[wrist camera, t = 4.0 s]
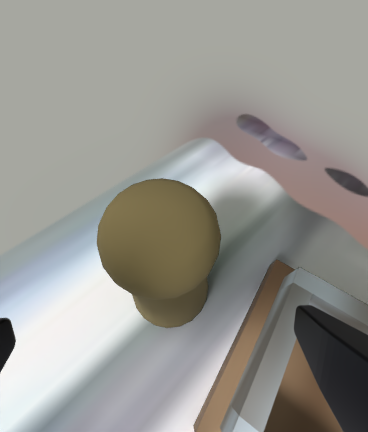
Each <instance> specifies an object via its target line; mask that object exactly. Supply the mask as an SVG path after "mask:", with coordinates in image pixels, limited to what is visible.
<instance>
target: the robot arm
mask: <svg viewBox="0 0 368 432" xmlns="http://www.w3.org/2000/svg"><path fill="white" fill-rule="evenodd" d="M294 333H295V335H296V338H297V340H298V342H299V345H300V347H301V349H302V351H303V353H304V356H305V358H306V360H307V362H308V365H309V367H310V369H311V371H312V374H313V376H314V378H315V380H316V382H317V384H318V387H319V389H320V390H321V392H322V394H323V396H324V398H325V400H326V402H327V403H328V405H329V407H330V409H331V411H332V412H333V414H334V416H335V418H336V420H337V421H338V423H339V425H340V427H341V429H342V430H343V432H368V335H367V334H365V333H363V332H362V331H360V330H358V329H356V328H354V327H352V326H350V325H348V324H346V323H344V322H343V321H341V320H339V319H337V318H335V317H333V316H331V315H329V314H327V313H325V312H324V311H322V310H320V309H318V308H316V307H314V306H312V305H299V306H297V308H296V312H295V320H294ZM15 342H16V339H15V335H14V331H13V327H12V324H11V321H10V320H9V319H8V318H0V372H1V370H2V369H3V367H4V365H5V363H6V361H7V360H8V358H9V356H10V354H11V352H12V351H13V349H14V346H15Z"/></svg>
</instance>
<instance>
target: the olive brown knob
mask: <svg viewBox="0 0 368 432" xmlns="http://www.w3.org/2000/svg"><path fill="white" fill-rule="evenodd" d="M220 240H221V234H220V229H219V225H218V220H217V216H216V213H215V211H214V210H213V208H212V207H211V205H210V203H209V202H208V200H207V199H206V198H204V197H203V196H202V195H201V194H200V193H198V192H197V191H196V190H195V189H194V188H192V187H190V186H188V185H186V184H184V183H181V182H179V181H175V180H169V179H151V180H145V181H142V182H139V183H136V184H133V185H131V186H130V187H128V188H127V189H125V190H124V191H122V192H120V193H119V194H118V195H117V196H116V197H115V198H114V199H113V201H112V202H111V203H110V204H109V205H108V207H107V208H106V210H105V212H104V214H103V216H102V219H101V221H100V223H99V225H98V235H97V247H98V251H99V255H100V258H101V262H102V265H103V268H104V269H105V270H106V272H107V273H108V274H109V276H110V277H111V278H112V280H113V281H114V282H115V283H116V284H117V285H118V286H120V287H122V288H123V289H125V290H126V291H128V292H129V293H131V294H132V295H133V299H134V302H135V305H136V308H137V309H138V311H139V312H140V313H141V315H142V316H143V317H144V318H145V319H146V320H148V321H149V322H151V323H152V324H154V325H156V326H161V327H165V328H171V327H179V326H182V325H184V324H186V323H188V322H190V321H192V320H193V319H194V318H195V317H196V316H197V315H198V314H199V313H200V312H201V310H202V308H203V306H204V304H205V302H206V299H207V292H208V282H207V276H208V275H209V273H210V271H211V269H212V267H213V265H214V263H215V261H216V259H217V257H218V255H219V248H220Z"/></svg>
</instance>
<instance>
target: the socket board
mask: <svg viewBox="0 0 368 432" xmlns="http://www.w3.org/2000/svg"><path fill="white" fill-rule="evenodd" d="M299 305H312V306H314V307H316V308H318V309H320V310H322V311H324V312H325V313H327V314H329V315H331V316H333V317H335V318H337V319H339V320H341V321H343V322H344V323H346V324H348V325H350V326H352V327H354V328H356V329H358V330H360V331H362V332H363V333H365V334H367V335H368V305H367V304H365V303H363V302H362V301H360V300H358V299H356V298H354V297H353V296H351V295H349V294H347V293H345V292H344V291H342V290H340V289H338V288H337V287H335V286H333V285H331V284H329V283H328V282H326V281H324V280H322V279H320V278H319V277H317V276H315V275H313V274H311V273H310V272H308V271H306V270H304V269H302V268H301V267H299V268H297V269H296V270H295V269H293V268H291V267H289V266H287V265H286V264H284V263H282V262H280V261H279V260H276V261H274V262H273V263H272V264H271V265H270V267H269V269H268V271H267V273H266V275H265V277H264V279H263V281H262V283H261V286H260V288H259V290H258V292H257V294H256V296H255V298H254V300H253V302H252V304H251V306H250V309H249V311H248V313H247V315H246V317H245V319H244V321H243V323H242V325H241V327H240V329H239V332H238V334H237V336H236V338H235V340H234V342H233V344H232V346H231V348H230V350H229V353H228V355H227V357H226V359H225V361H224V363H223V365H222V367H221V369H220V371H219V373H218V376H217V378H216V380H215V382H214V384H213V386H212V388H211V390H210V392H209V394H208V396H207V399H206V401H205V403H204V405H203V407H202V409H201V411H200V413H199V415H198V417H197V419H196V422H195V424H194V432H343V430H342V429H341V427H340V425H339V423H338V421H337V420H336V418H335V416H334V414H333V412H332V411H331V409H330V407H329V405H328V403H327V402H326V400H325V398H324V396H323V394H322V392H321V390H320V389H319V387H318V384H317V382H316V380H315V378H314V376H313V374H312V371H311V369H310V367H309V365H308V362H307V360H306V358H305V356H304V353H303V351H302V349H301V347H300V345H299V342H298V340H297V338H296V335H295V333H294V320H295V312H296V308H297V306H299Z"/></svg>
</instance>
